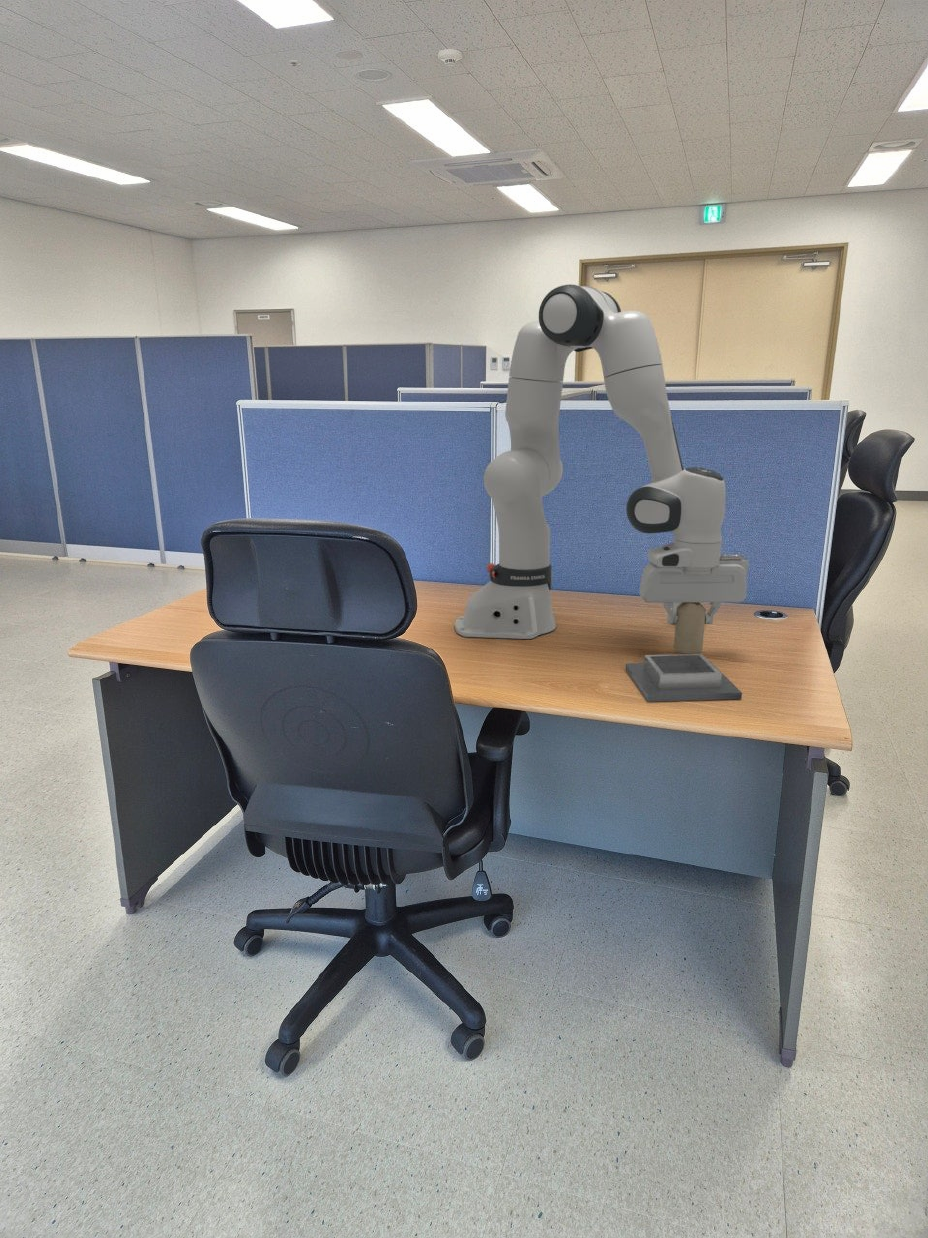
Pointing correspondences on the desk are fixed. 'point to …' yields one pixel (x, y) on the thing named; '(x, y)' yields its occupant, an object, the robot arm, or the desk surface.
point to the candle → (689, 628)
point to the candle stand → (681, 679)
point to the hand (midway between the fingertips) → (689, 623)
